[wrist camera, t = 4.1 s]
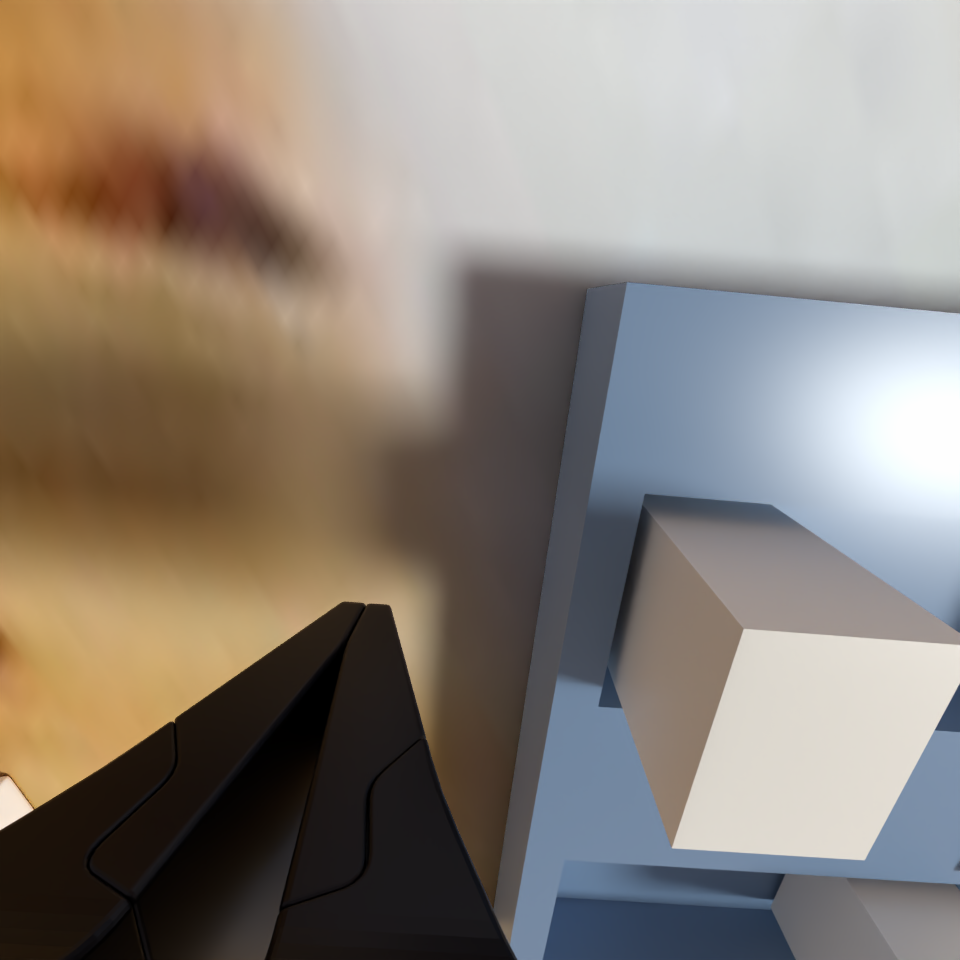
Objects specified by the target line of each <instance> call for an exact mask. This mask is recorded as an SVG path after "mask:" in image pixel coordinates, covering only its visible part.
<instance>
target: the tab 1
mask: <svg viewBox="0 0 960 960" xmlns="http://www.w3.org/2000/svg"><path fill="white" fill-rule="evenodd" d="M607 666H608V669H609V671H610V674H611V677H612V680H613V683H614V686H615V689H616V691H617V694H618V697H619V700H620V703H621V706H622V708H623V711H624V714H625V717H626V720H627V723H628V725H629V728H630V731H631V734H632V737H633V740H634V743H635V745H636V748H637V751H638V754H639V757H640V760H641V762H642V765H643V768H644V771H645V774H646V777H647V780H648V782H649V785H650V788H651V791H652V794H653V797H654V799H655V802H656V805H657V808H658V811H659V814H660V817H661V819H662V822H663V825H664V828H665V831H666V834H667V836H668V839H669V842H670V845H671V848H675V849H691V850H707V851H723V852H739V853H755V854H770V855H786V856H802V857H818V858H834V859H850V860H865V859H866V857H867V855H868V853H869V851H870V849H871V848H872V846H873V844H874V842H875V840H876V838H877V836H878V835H879V833H880V831H881V829H882V827H883V825H884V823H885V822H886V820H887V818H888V816H889V814H890V812H891V810H892V808H893V807H894V805H895V803H896V801H897V799H898V797H899V795H900V794H901V792H902V790H903V788H904V786H905V784H906V782H907V781H908V779H909V777H910V775H911V773H912V771H913V769H914V768H915V766H916V764H917V762H918V760H919V758H920V756H921V754H922V753H923V751H924V749H925V747H926V745H927V743H928V741H929V740H930V738H931V736H932V734H933V732H934V730H935V728H936V727H937V725H938V723H939V721H940V719H941V717H942V715H943V714H944V712H945V710H946V708H947V706H948V704H949V702H950V700H951V699H952V697H953V695H954V693H955V691H956V689H957V687H958V686H959V684H960V633H959V632H957V631H956V630H954V629H953V628H951V627H950V626H949V625H947V624H946V623H944V622H943V621H941V620H940V619H938V618H937V617H935V616H934V615H932V614H931V613H929V612H928V611H927V610H925V609H924V608H922V607H921V606H919V605H918V604H916V603H915V602H913V601H912V600H910V599H909V598H907V597H906V596H905V595H903V594H902V593H900V592H899V591H897V590H896V589H894V588H893V587H891V586H890V585H888V584H887V583H885V582H884V581H883V580H881V579H880V578H878V577H877V576H875V575H874V574H872V573H871V572H869V571H868V570H866V569H865V568H863V567H862V566H861V565H859V564H858V563H856V562H855V561H853V560H852V559H850V558H849V557H847V556H846V555H844V554H843V553H841V552H840V551H839V550H837V549H836V548H834V547H833V546H831V545H830V544H828V543H827V542H825V541H824V540H822V539H821V538H819V537H818V536H817V535H815V534H814V533H812V532H811V531H809V530H808V529H806V528H805V527H803V526H802V525H800V524H799V523H797V522H796V521H795V520H793V519H792V518H790V517H789V516H787V515H786V514H784V513H783V512H781V511H780V510H778V509H777V508H775V507H774V506H773V505H771V504H761V503H749V502H737V501H725V500H713V499H700V498H688V497H676V496H664V495H652V494H645V495H644V499H643V504H642V509H641V513H640V518H639V522H638V527H637V531H636V536H635V541H634V545H633V550H632V554H631V559H630V563H629V568H628V572H627V577H626V582H625V586H624V591H623V595H622V600H621V604H620V609H619V614H618V618H617V623H616V627H615V632H614V636H613V641H612V646H611V650H610V655H609V659H608V664H607Z"/></svg>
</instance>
